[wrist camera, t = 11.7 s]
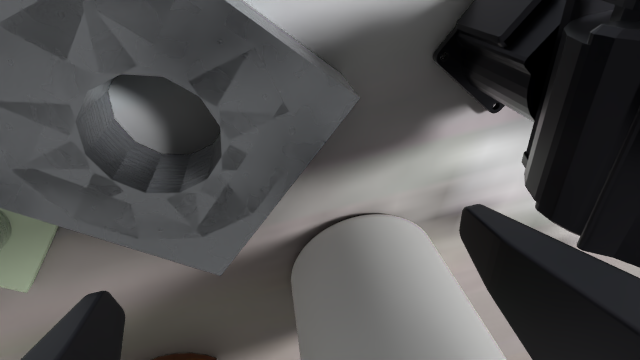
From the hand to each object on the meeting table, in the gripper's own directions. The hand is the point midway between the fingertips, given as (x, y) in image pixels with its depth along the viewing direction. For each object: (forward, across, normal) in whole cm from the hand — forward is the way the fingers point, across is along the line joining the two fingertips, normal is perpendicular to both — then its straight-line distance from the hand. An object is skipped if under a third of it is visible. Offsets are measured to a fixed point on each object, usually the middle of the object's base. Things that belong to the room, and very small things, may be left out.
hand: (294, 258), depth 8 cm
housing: (+13, +6, 0) cm, 14 cm away
